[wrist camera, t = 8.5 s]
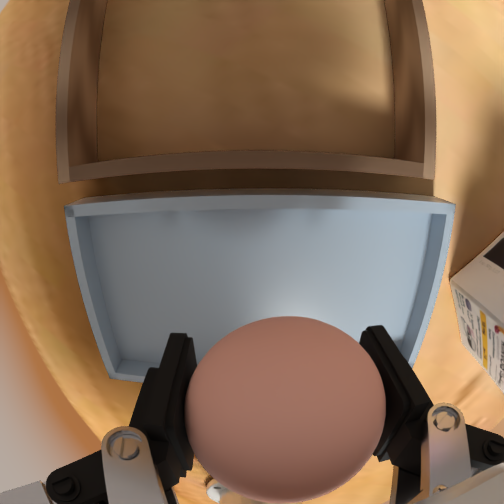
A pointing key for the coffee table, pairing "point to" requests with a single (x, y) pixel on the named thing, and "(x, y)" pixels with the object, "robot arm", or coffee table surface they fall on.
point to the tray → (253, 265)
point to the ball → (285, 409)
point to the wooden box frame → (404, 163)
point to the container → (483, 308)
